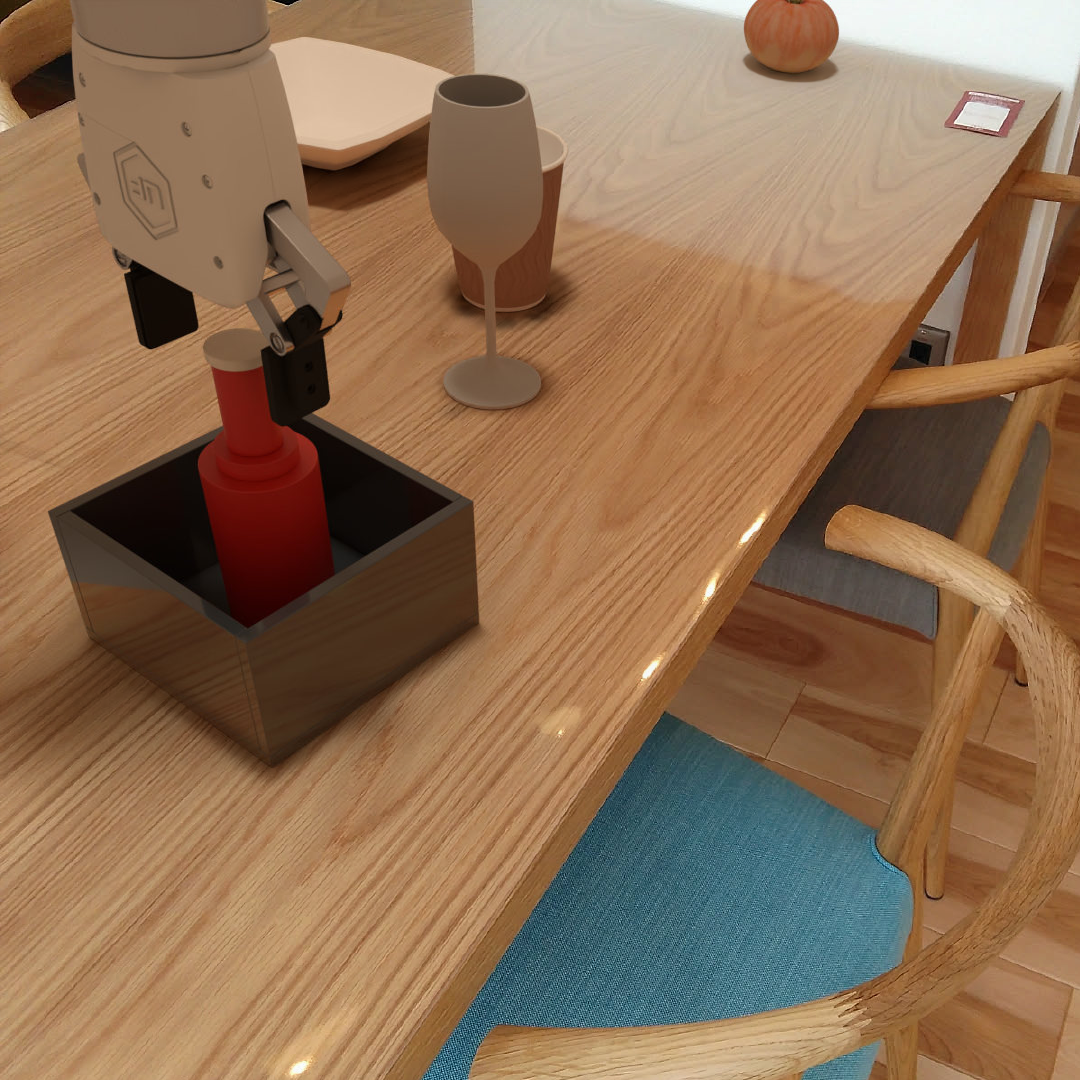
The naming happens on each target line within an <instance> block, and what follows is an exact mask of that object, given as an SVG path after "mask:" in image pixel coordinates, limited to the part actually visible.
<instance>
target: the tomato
mask: <svg viewBox="0 0 1080 1080" xmlns="http://www.w3.org/2000/svg"><path fill="white" fill-rule="evenodd" d="M743 22H744V23H743V35H744V38H745V39H744V40H745V43H746V46H747V48H748V50H749V52H750V54H751V55H752V56H753V57H754V58H755V60H756V61H758V62H760V63H761V64H762V65H764V66H765V67H767V68H769V69H771V70H774V71H777V72H781V73H788V74H790V73H791V74H792V73H793V74H797V73H804V72H807V71H810V70H811V71H812V70H813V69H816V68H817V67H820V65H822V64H824V63H825V62H826V61H827V60H828V59H829V58H830V57H831V56H832V54H833V52H835V51H834V50H835V49H836V47H837V45H838V41H839V37H840V26H839V23H838V19H837V16H836V14H835V12H834V10H833V9H832V6H830V5H829V4H828V3H827V2H826V1H824V0H756V1H754V3H753V4H752V5H751V6H750V7H749V9H748V11H747V13H746V16H745V18H744V21H743Z"/></svg>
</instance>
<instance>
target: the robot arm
mask: <svg viewBox="0 0 1080 1080" xmlns="http://www.w3.org/2000/svg"><path fill="white" fill-rule="evenodd" d="M69 5H70V10H71V14H72V18H73V21H72V23H71V60H72V62H71V63H72V79H73V87H74V97H75V104H76V105H75V106H76V112H77V119H78V125H79V132H80V138H81V144H82V150H83V152H82V153H79V154H78V155H77V156H76V157H77V158H76V161H77V164H78V167H79V169H80V171H81V173H82V175H83V178H84V180H85V183H86V184H87V186H88V188H89V190H90V194H91V199H92V203H93V208H94V212H95V216H96V220H97V224H98V227H99V231H100V233H101V235H102V237H103V238H104V239H105V240H106V242H107V243H109V245H110V246H111V253H112V256H113V257H112V258H113V259H114V261H115V263H116V264H117V266H119V268H120V269H122V270H124V271H126V270H129V271H127V272H124V273H123V277H124V283H125V286H126V291H127V295H128V299H129V304H130V308H131V314H132V317H133V322H134V326H135V327H134V328H135V330H136V331H135V332H136V336H137V339H138V343H139V344H140V346H141V347H144V348H145V349H147V350H151V351H152V350H155V349H158V348H160V347H162V346H164V345H167V344H169V343H171V342H174V341H176V340H179V339H181V338H184V337H186V336H188V335H191V334H193V333H195V332H197V331H198V329H199V326H200V325H199V319H198V313H197V308H196V303H195V298H194V294H195V295H197V296H199V297H201V298H202V299H204V300H207V301H208V302H210V303H212V304H215V305H217V306H219V307H222V308H225V309H229V310H231V309H232V310H233V309H238V308H241V307H243V306H245V305H246V307H247V309H248V310H249V312H250V314H251V315H252V317H253V319H254V321H255V322H256V325H257V326H258V327H259V329H260V332H262V333H263V334H264V336H265V338H266V340H267V341H268V343H269V346H267V347H265V348H263V349H261V358H262V365H263V371H264V378H265V385H266V391H267V398H268V404H269V411H270V416H271V420H272V421H273V422H274V423H276V424H278V425H280V426H281V427H284V426H287V425H289V424H291V423H293V422H295V421H297V420H299V419H301V418H303V417H305V416H307V415H309V414H311V413H313V414H314V413H315V412H317V411H319V410H321V409H323V408H325V407H327V406H328V404H329V403H330V401H331V392H330V383H329V375H328V366H327V365H328V364H327V357H326V348H325V339H324V338H325V337H328V336H330V335H331V334H332V331H333V328H335V327H336V326H337V325H338V324H339V323H340V322H341V321H342V320H343V316H344V313H343V310H344V306H345V304H346V300H347V298H348V296H349V293H350V291H351V287H352V281H351V277H350V275H349V274H348V272H347V271H346V270H345V268H344V267H343V266H342V265H341V264H340V262H338V260H337V259H335V257H334V256H333V255H332V253H330V251H329V250H328V249H327V248H326V247H325V246H324V245H323V244H322V242H320V240H319V239H318V238H317V237H316V236H315V234H314V233H312V224H311V215H310V207H309V201H308V193H307V188H306V182H305V176H304V175H305V174H304V170H303V164H301V159H300V154H299V149H298V144H297V139H296V134H295V130H294V125H293V121H292V116H291V112H290V108H289V104H288V100H287V96H286V92H285V88H284V84H283V81H282V77H281V74H280V70H279V67H278V64H277V60H276V56H275V54H274V53H273V52H272V51H271V50H269V48H270V46H271V44H272V41H273V39H272V38H273V37H272V31H271V30H272V29H271V23H270V15H269V14H270V13H269V7H268V0H69ZM266 268H267V269H269V270H271V271H273V272H275V273H277V274H274V275H272V276H269V277H267V278H264V277H265V272H266ZM283 291H286V293H287V296H288V297H289V298H290V300H291V301H292V303H293V306H294V307H295V309H296V310H294V311H293V312H292V313H291V314H290V316H289V317H287V318H286V319H285V320H284V319H283V318H282V316H281V315H280V313H279V311H278V310H277V308H276V305H275V303H274V302H273V301H272V298H271V296H273V295H276V294H278V293H280V292H283Z"/></svg>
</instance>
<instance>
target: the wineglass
mask: <svg viewBox="0 0 1080 1080" xmlns="http://www.w3.org/2000/svg"><path fill="white" fill-rule="evenodd" d="M536 125H537V123H536V116H535V112H534V107H533V101H532V99H531V94H530V90H529V88H528V87H527V86H526V85H525V84H524V83H522V82H521V81H519V80H516V79H514V78H511V77H508V76H503V75H498V74H490V73H463V74H458V75H454V76H453V77H449V78H446V79H444V80H442V81H440V82H439V83H438V84H437V85H436V88H435V92H434V98H433V105H432V113H431V121H429V131H428V146H427V166H426V169H427V170H426V185H427V187H426V188H427V198H428V202H429V203H428V204H429V208H430V212H431V216H432V218H433V221H434V223H435V224H436V227H437V229H438V231H439V232H440V233H441V235H442V236H443V237H444V238H445V239H446V240H447V241H448V243H449V244H450V245H451V247H452V246H453V247H454V248H455V249H457V250H458V251H459V252H460V253H462V254H463V255H464V256H466V257H467V258H468V259H470V260H471V261H473V262H474V263H476V264H477V265H478V266H479V268H480V270H481V271H482V276H483V281H484V298H485V309H484V320H485V347H486V349H485V351H486V352H485V355H481V356H473V357H471V358H467V359H463V360H461V361H459V362H457V363H454V364H453V365H452V366H451V367H449V368H448V369H447V370H446V372H445V373H444V375H443V379H442V380H443V381H442V383H443V384H442V385H443V387H444V388H443V389H444V391H445V392H446V393H447V395H448V396H449V397H450V398H451V399H453V401H454V400H455V402H457V403H460V404H462V405H464V406H467V407H471V408H474V409H481V410H491V411H492V410H505V409H506V410H507V409H511V408H517V407H519V406H522V405H524V404H526V403H528V402H530V401H532V400H533V399H534V398H535V397H537V396H538V394H539V393H540V391H541V389H542V378H541V376H540V373H539V372H538V371H537V370H536V368H535V367H534V366H532V365H530V364H529V363H528V362H524V361H522V360H520V359H518V358H514V357H509V356H503V355H498V351H497V326H496V325H497V323H496V322H497V321H496V311H495V290H494V281H495V274H496V270H497V269H498V267H499V265H500V264H502V263H503V262H504V261H506V260H507V259H509V258H510V257H511V256H512V255H514V254H515V253H516V252H517V251H519V250H520V249H521V248H522V247H523V246H524V245H525V244H526V242H527V241H528V240H529V239H530V238H531V236H532V235H533V234H534V232H535V230H536V228H537V225H538V223H539V220H540V218H541V211H542V202H543V175H542V165H541V157H540V149H539V141H538V134H537V128H536Z"/></svg>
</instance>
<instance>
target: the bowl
mask: <svg viewBox="0 0 1080 1080" xmlns="http://www.w3.org/2000/svg"><path fill="white" fill-rule="evenodd" d="M269 50H271V51H272V52H273V53H274V54H275V56H276V60H277V64H278V67H279V70H280V74H281V77H282V81H283V84H284V88H285V92H286V96H287V100H288V104H289V108H290V112H291V116H292V121H293V125H294V130H295V134H296V139H297V144H298V149H299V154H300V159H301V164H302V165H304V166H308V167H312V168H317V169H323V170H328V171H338V170H342V169H344V168H349V167H351V166H354V165H356V164H359V162H360V163H361V161H363V160H366V159H367V158H370V157H371V156H374V155H375V154H377V153H380V152H381V151H382V150H384V149H386V148H388V147H389V146H390V145H391V144H392V143H395V142H396V141H398V140H400V139H402V138H404V137H407V135H409V134H412V133H414V132H415V131H417V130H420V129H421V128H422V127H424V126H426V125H427V124H428V123H430V121H431V113H432V105H433V98H434V92H435V88H436V85H437V84H438V83H439V82H440V81H442V80H444V79H446V78H449V77H453V76H455V75H454V74H452V73H450V72H447V71H445V70H443V69H441V68H437V67H433V66H431V65H427V64H424V63H422V62H419V61H415V60H413V59H409V58H408V57H407V58H406V57H403V56H401V55H398V54H395V53H389V52H384V51H381V50H376V49H373V48H372V49H371V48H367V47H364V46H359V45H354V44H351V43H346V42H340V41H334V40H328V39H322V38H316V37H310V36H301V37H297V38H292V39H288V40H284V41H279V42H275V43H271V46H270V48H269Z"/></svg>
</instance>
